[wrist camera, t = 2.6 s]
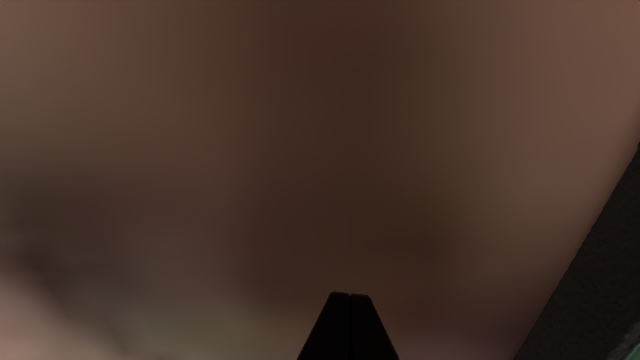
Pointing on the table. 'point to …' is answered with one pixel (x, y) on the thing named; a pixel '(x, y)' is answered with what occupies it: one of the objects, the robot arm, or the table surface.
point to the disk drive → (598, 288)
